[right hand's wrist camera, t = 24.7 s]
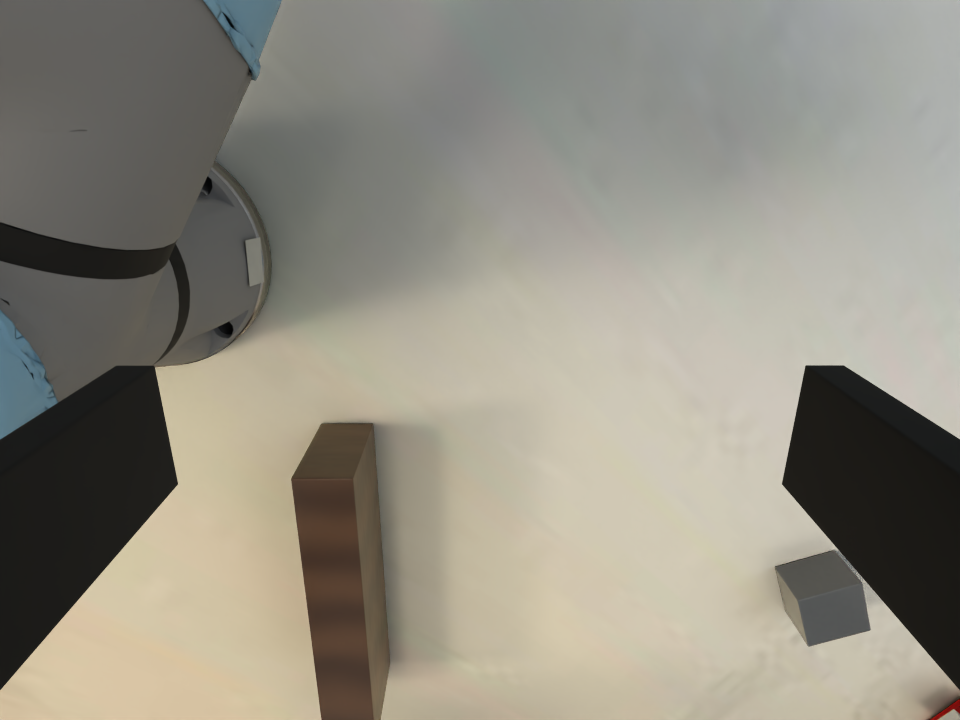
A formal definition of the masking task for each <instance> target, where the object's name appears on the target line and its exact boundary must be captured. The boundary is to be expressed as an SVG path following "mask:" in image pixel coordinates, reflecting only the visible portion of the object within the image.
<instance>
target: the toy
mask: <svg viewBox="0 0 960 720" xmlns="http://www.w3.org/2000/svg"><path fill="white" fill-rule="evenodd" d="M930 720H960V699H959V700H957V701H956V702H954V703H953V704H952V705H950V706H949V707H947V708H946V709H945V710H943V711H942V712H940V713H939V714H938V715H936V716H935V717H933V718H932V719H930Z"/></svg>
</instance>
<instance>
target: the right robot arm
mask: <svg viewBox="0 0 960 720" xmlns="http://www.w3.org/2000/svg"><path fill="white" fill-rule="evenodd" d="M281 1H282V0H0V690H1V689H2V687H3V686H4V685H5V684H6V683H7V682H8V680H9V679H10V678H11V677H12V676H13V675H14V674H15V672H16V671H17V670H18V669H19V668H20V667H21V665H22V664H23V663H24V662H25V661H26V660H27V658H28V657H29V656H30V655H31V654H32V653H33V651H34V650H35V649H36V648H37V647H38V646H39V645H40V643H41V642H42V641H43V640H44V639H45V638H46V636H47V635H48V634H49V633H50V632H51V631H52V629H53V628H54V627H55V626H56V625H57V624H58V623H59V621H60V620H61V619H62V618H63V617H64V616H65V614H66V613H67V612H68V611H69V610H70V609H71V607H72V606H73V605H74V604H75V603H76V602H77V601H78V599H79V598H80V597H81V596H82V595H83V594H84V592H85V591H86V590H87V589H88V588H89V587H90V585H91V584H92V583H93V582H94V581H95V580H96V579H97V577H98V576H99V575H100V574H101V573H102V572H103V570H104V569H105V568H106V567H107V566H108V565H109V563H110V562H111V561H112V560H113V559H114V558H115V556H116V555H117V554H118V553H119V552H120V551H121V550H122V548H123V547H124V546H125V545H126V544H127V543H128V541H129V540H130V539H131V538H132V537H133V536H134V534H135V533H136V532H137V531H138V530H139V529H140V528H141V526H142V525H143V524H144V523H145V522H146V521H147V519H148V518H149V517H150V516H151V515H152V514H153V512H154V511H155V510H156V509H157V508H158V507H159V506H160V504H161V503H162V502H163V501H164V500H165V499H166V497H167V496H168V495H169V494H170V493H171V492H172V490H173V489H174V488H175V487H176V486H177V485H178V482H177V477H176V472H175V467H174V462H173V457H172V452H171V447H170V442H169V437H168V432H167V427H166V422H165V417H164V412H163V407H162V402H161V397H160V392H159V387H158V381H157V376H156V371H155V367H163V366H172V365H182V364H189V363H193V362H197V361H200V360H203V359H206V358H208V357H210V356H212V355H214V354H216V353H218V352H220V351H221V350H223V349H224V348H226V347H227V346H228V345H230V344H231V343H232V342H233V341H234V340H236V339H237V338H238V337H239V336H240V335H242V334H243V333H244V332H245V331H246V330H247V329H248V328H249V327H250V325H251V324H252V323H253V322H254V320H255V319H256V317H257V316H258V314H259V312H260V311H261V308H262V306H263V304H264V302H265V299H266V296H267V293H268V289H269V285H270V278H271V252H270V246H269V241H268V237H267V233H266V230H265V227H264V225H263V222H262V219H261V217H260V215H259V213H258V211H257V209H256V207H255V206H254V204H253V202H252V200H251V199H250V197H249V196H248V194H247V193H246V192H245V190H244V189H243V188H242V187H241V185H240V184H239V183H238V182H237V181H236V179H235V178H234V177H233V176H232V175H231V174H230V173H229V172H228V171H226V170H225V169H224V168H223V167H222V166H221V165H219V164H218V163H217V162H215V158H216V156H217V154H218V152H219V150H220V147H221V145H222V143H223V141H224V139H225V136H226V134H227V132H228V130H229V127H230V125H231V123H232V121H233V119H234V116H235V114H236V112H237V110H238V108H239V105H240V103H241V101H242V99H243V97H244V94H245V92H246V90H247V88H248V86H249V83H250V81H251V79H252V80H256V79H257V77H258V75H259V73H260V67H261V66H260V63H259V58H260V55H261V53H262V50H263V47H264V45H265V42H266V40H267V37H268V34H269V32H270V29H271V27H272V24H273V22H274V19H275V17H276V14H277V11H278V9H279V6H280V4H281ZM782 485H783V486H784V487H785V488H786V489H787V490H788V492H789V493H790V494H791V495H792V496H793V497H794V499H795V500H796V501H797V502H798V503H799V504H800V506H801V507H802V508H803V509H804V510H805V511H806V512H807V514H808V515H809V516H810V517H811V518H812V519H813V521H814V522H815V523H816V524H817V525H818V526H819V528H820V529H821V530H822V531H823V532H824V533H825V534H826V536H827V537H828V538H829V539H830V540H831V541H832V543H833V544H834V545H835V546H836V547H837V548H838V550H839V551H840V552H841V553H842V554H843V555H844V556H845V558H846V559H847V560H848V561H849V562H850V563H851V565H852V566H853V567H854V568H855V569H856V570H857V572H858V573H859V574H860V575H861V576H862V577H863V579H864V580H865V581H866V582H867V583H868V584H869V585H870V587H871V588H872V589H873V590H874V591H875V592H876V594H877V595H878V596H879V597H880V598H881V599H882V601H883V602H884V603H885V604H886V605H887V606H888V607H889V609H890V610H891V611H892V612H893V613H894V614H895V616H896V617H897V618H898V619H899V620H900V621H901V623H902V624H903V625H904V626H905V627H906V628H907V629H908V631H909V632H910V633H911V634H912V635H913V636H914V638H915V639H916V640H917V641H918V642H919V643H920V645H921V646H922V647H923V648H924V649H925V650H926V651H927V653H928V654H929V655H930V656H931V657H932V658H933V660H934V661H935V662H936V663H937V664H938V665H939V667H940V668H941V669H942V670H943V671H944V672H945V674H946V675H947V676H948V677H949V678H950V679H951V680H952V682H953V683H954V684H955V685H956V686H957V687H958V689H959V690H960V439H958V438H957V437H955V436H954V435H952V434H950V433H949V432H947V431H946V430H944V429H943V428H941V427H939V426H938V425H936V424H935V423H933V422H932V421H930V420H928V419H927V418H925V417H924V416H922V415H921V414H919V413H917V412H916V411H914V410H913V409H911V408H910V407H908V406H906V405H905V404H903V403H902V402H900V401H899V400H897V399H895V398H894V397H892V396H891V395H889V394H888V393H886V392H884V391H883V390H881V389H880V388H878V387H877V386H875V385H873V384H872V383H870V382H869V381H867V380H866V379H864V378H862V377H861V376H859V375H858V374H856V373H855V372H853V371H851V370H850V369H848V368H847V367H845V366H805V371H804V376H803V381H802V386H801V392H800V397H799V402H798V407H797V412H796V417H795V422H794V427H793V432H792V437H791V442H790V447H789V452H788V457H787V462H786V467H785V472H784V477H783V482H782Z"/></svg>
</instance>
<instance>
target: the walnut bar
mask: <svg viewBox="0 0 960 720" xmlns="http://www.w3.org/2000/svg"><path fill="white" fill-rule="evenodd" d="M291 481H292V489H293V497H294V505H295V513H296V520H297V528H298V536H299V544H300V552H301V560H302V568H303V576H304V584H305V592H306V600H307V608H308V616H309V623H310V631H311V639H312V647H313V655H314V663H315V671H316V679H317V687H318V695H319V703H320V711H321V719H322V720H381V714H382V708H383V702H384V696H385V690H386V684H387V678H388V672H389V667H390V655H389V640H388V626H387V612H386V597H385V583H384V569H383V555H382V540H381V526H380V512H379V497H378V483H377V469H376V454H375V440H374V426H373V424H321V425H320V427H319V429H318V431H317V433H316V435H315V436H314V438H313V440H312V442H311V444H310V446H309V447H308V449H307V451H306V453H305V455H304V456H303V458H302V460H301V462H300V464H299V466H298V467H297V469H296V471H295V473H294V475H293V477H292V478H291Z"/></svg>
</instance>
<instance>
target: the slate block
mask: <svg viewBox="0 0 960 720" xmlns="http://www.w3.org/2000/svg"><path fill="white" fill-rule="evenodd" d="M775 570H776V574H777V578H778V582H779V586H780V591H781V595H782V599H783V603H784V607H785V611H786V613H787V614H788V616H789V617H790V619H791V621H792V622H793V624H794V625H795V627H796V628H797V630H798V631H799V633H800V635H801V636H802V638H803V639H804V641H805V642H806V644H807V646H813V645H817V644H821V643H824V642H828V641H832V640H836V639H840V638H843V637H847V636H851V635H855V634H859V633H862V632H866V631H870V630H871V629H870V624H869V618H868V613H867V607H866V602H865V596H864V590H863V585H862V582H861V581H860V580H859V579H858V578H857V576H856V575H855V574H854V573H853V572H852V571H851V569H850V568H849V567H848V566H847V565H846V564H845V562H844V561H843V560H842V559H841V558H840V556H839V555H838V554H837V553H836V552H835V551H830V552H827V553H823V554H819V555H816V556H812V557H809V558H805V559H802V560H798V561H794V562H791V563H787V564H784V565H780V566H777V567H775Z"/></svg>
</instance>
